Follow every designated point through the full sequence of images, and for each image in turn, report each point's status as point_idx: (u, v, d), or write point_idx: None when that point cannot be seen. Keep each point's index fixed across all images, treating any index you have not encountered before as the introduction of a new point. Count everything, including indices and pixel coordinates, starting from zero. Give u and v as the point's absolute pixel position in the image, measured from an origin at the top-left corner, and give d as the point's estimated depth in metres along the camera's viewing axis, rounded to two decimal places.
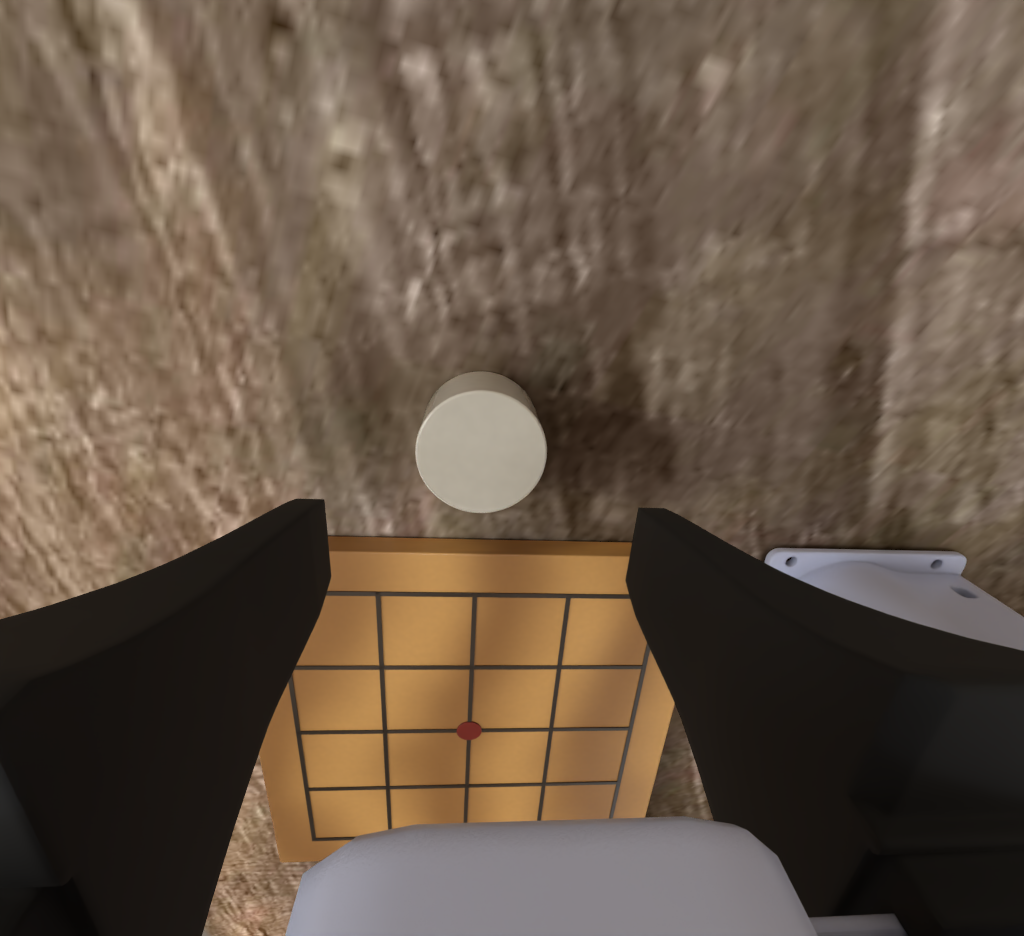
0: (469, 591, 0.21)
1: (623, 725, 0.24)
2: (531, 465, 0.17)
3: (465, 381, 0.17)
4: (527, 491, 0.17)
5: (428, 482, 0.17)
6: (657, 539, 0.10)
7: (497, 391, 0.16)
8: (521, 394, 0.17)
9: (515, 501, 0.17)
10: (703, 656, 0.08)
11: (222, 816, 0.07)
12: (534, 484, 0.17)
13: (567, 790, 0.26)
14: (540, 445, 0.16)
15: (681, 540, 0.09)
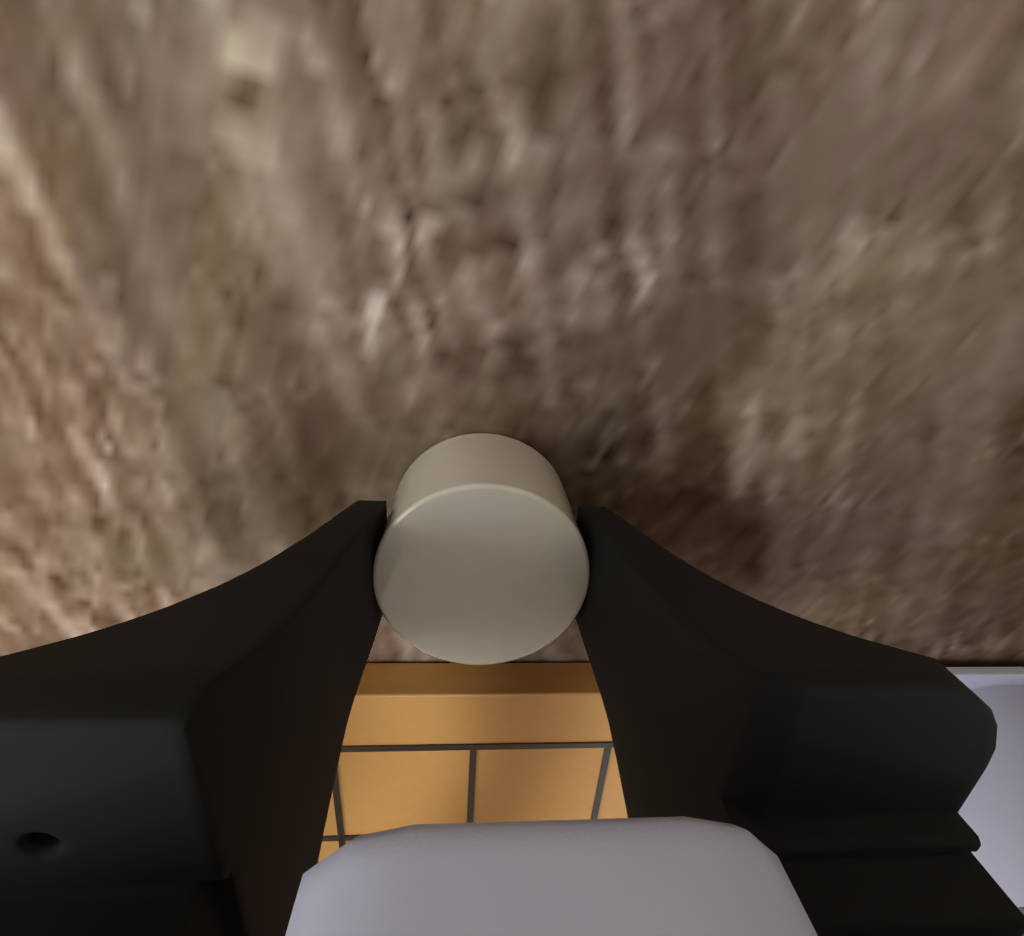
0: (466, 742, 0.14)
1: None
2: (564, 596, 0.10)
3: (456, 456, 0.10)
4: (556, 633, 0.11)
5: (395, 624, 0.10)
6: (590, 537, 0.10)
7: (509, 483, 0.09)
8: (546, 476, 0.11)
9: (536, 647, 0.11)
10: (623, 656, 0.08)
11: (318, 813, 0.07)
12: (568, 623, 0.10)
13: None
14: (579, 566, 0.10)
15: (608, 538, 0.09)
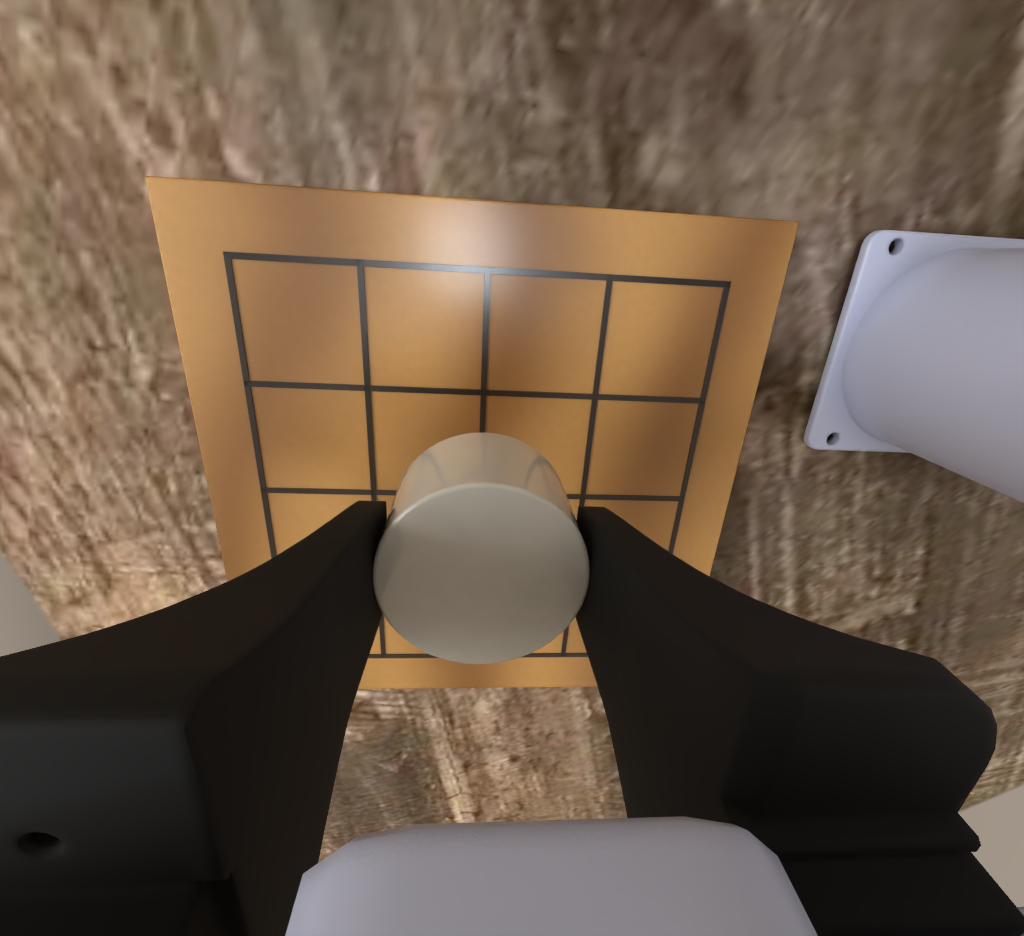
0: (481, 265, 0.16)
1: (673, 495, 0.19)
2: (564, 595, 0.10)
3: (456, 456, 0.10)
4: (556, 632, 0.11)
5: (395, 623, 0.10)
6: (590, 537, 0.10)
7: (509, 483, 0.09)
8: (546, 475, 0.11)
9: (536, 647, 0.11)
10: (623, 656, 0.08)
11: (319, 813, 0.07)
12: (568, 622, 0.10)
13: None
14: (579, 566, 0.10)
15: (607, 538, 0.09)
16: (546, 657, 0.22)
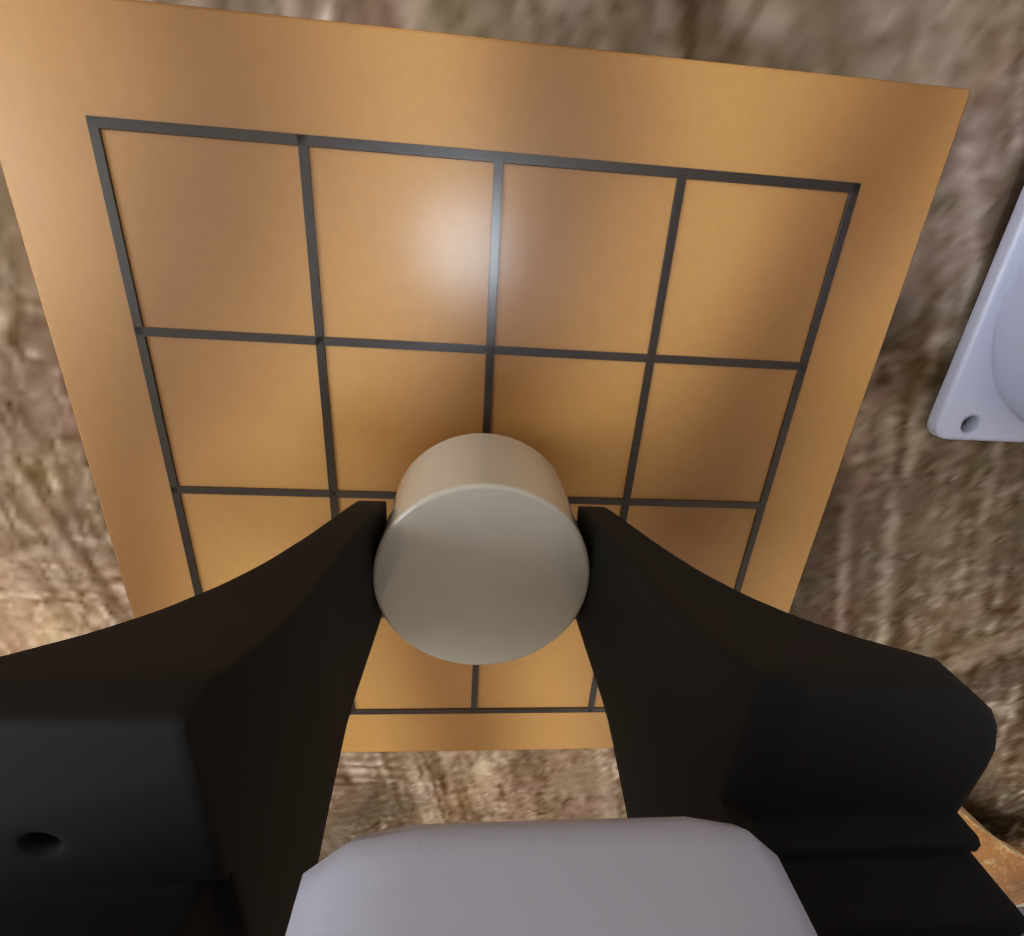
0: (489, 149, 0.10)
1: (750, 500, 0.14)
2: (564, 596, 0.10)
3: (456, 456, 0.10)
4: (556, 633, 0.11)
5: (395, 624, 0.10)
6: (590, 538, 0.10)
7: (509, 483, 0.09)
8: (546, 476, 0.11)
9: (536, 648, 0.11)
10: (623, 656, 0.08)
11: (319, 813, 0.07)
12: (568, 623, 0.10)
13: None
14: (579, 566, 0.10)
15: (607, 538, 0.09)
16: (568, 712, 0.17)
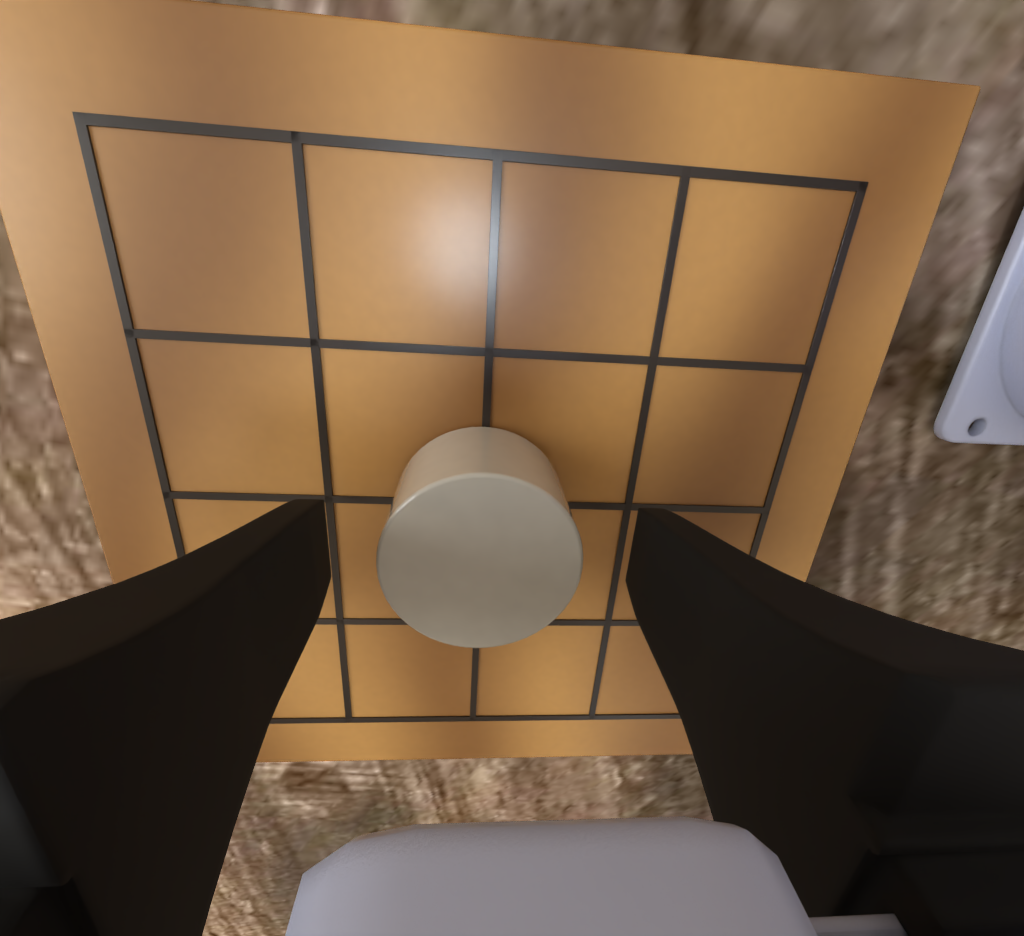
0: (488, 146, 0.10)
1: (754, 504, 0.14)
2: (558, 581, 0.11)
3: (456, 448, 0.11)
4: (551, 617, 0.11)
5: (398, 608, 0.11)
6: (657, 539, 0.10)
7: (506, 473, 0.10)
8: (542, 467, 0.11)
9: (533, 631, 0.11)
10: (703, 656, 0.08)
11: (222, 816, 0.07)
12: (562, 607, 0.11)
13: None
14: (573, 553, 0.10)
15: (681, 540, 0.09)
16: (569, 719, 0.17)
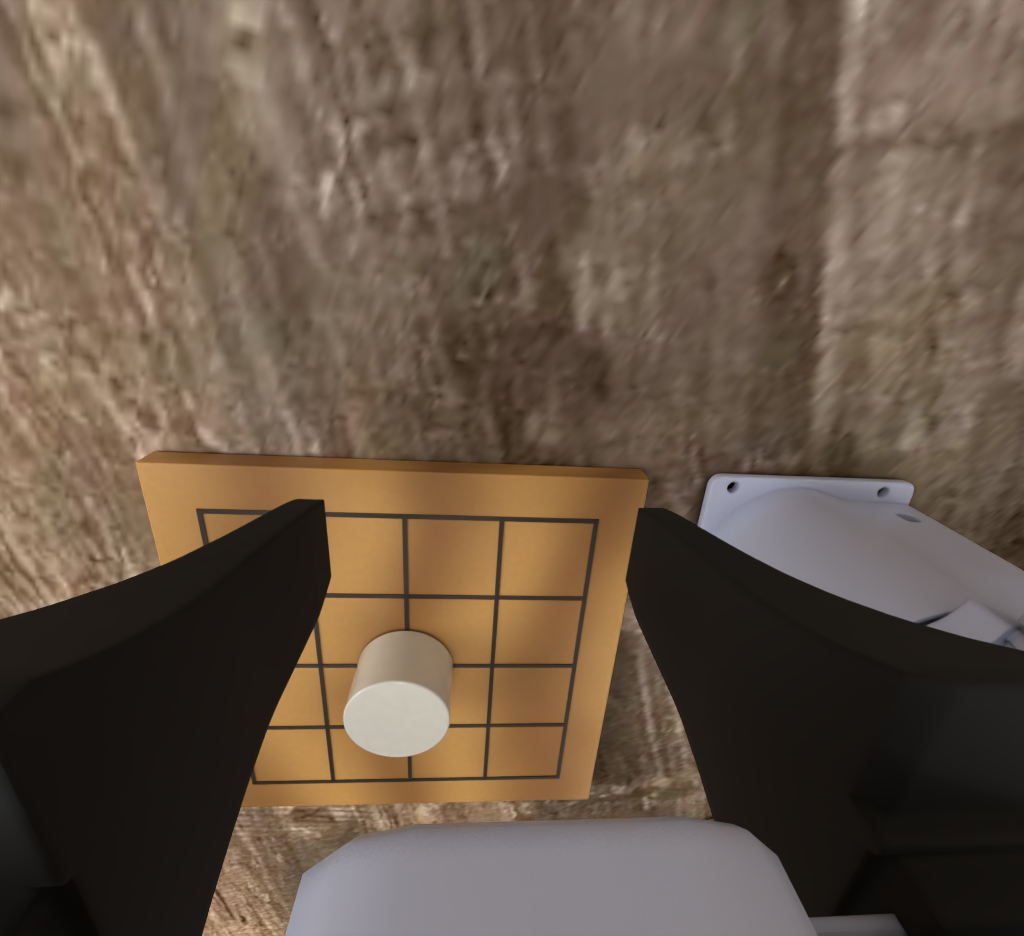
0: (399, 513, 0.20)
1: (567, 662, 0.24)
2: (437, 726, 0.21)
3: (386, 654, 0.21)
4: (436, 742, 0.21)
5: (355, 739, 0.21)
6: (656, 539, 0.10)
7: (406, 679, 0.20)
8: (432, 662, 0.21)
9: (426, 749, 0.21)
10: (703, 656, 0.08)
11: (222, 816, 0.07)
12: (441, 737, 0.21)
13: (513, 733, 0.25)
14: (443, 713, 0.20)
15: (681, 540, 0.09)
16: (470, 780, 0.27)
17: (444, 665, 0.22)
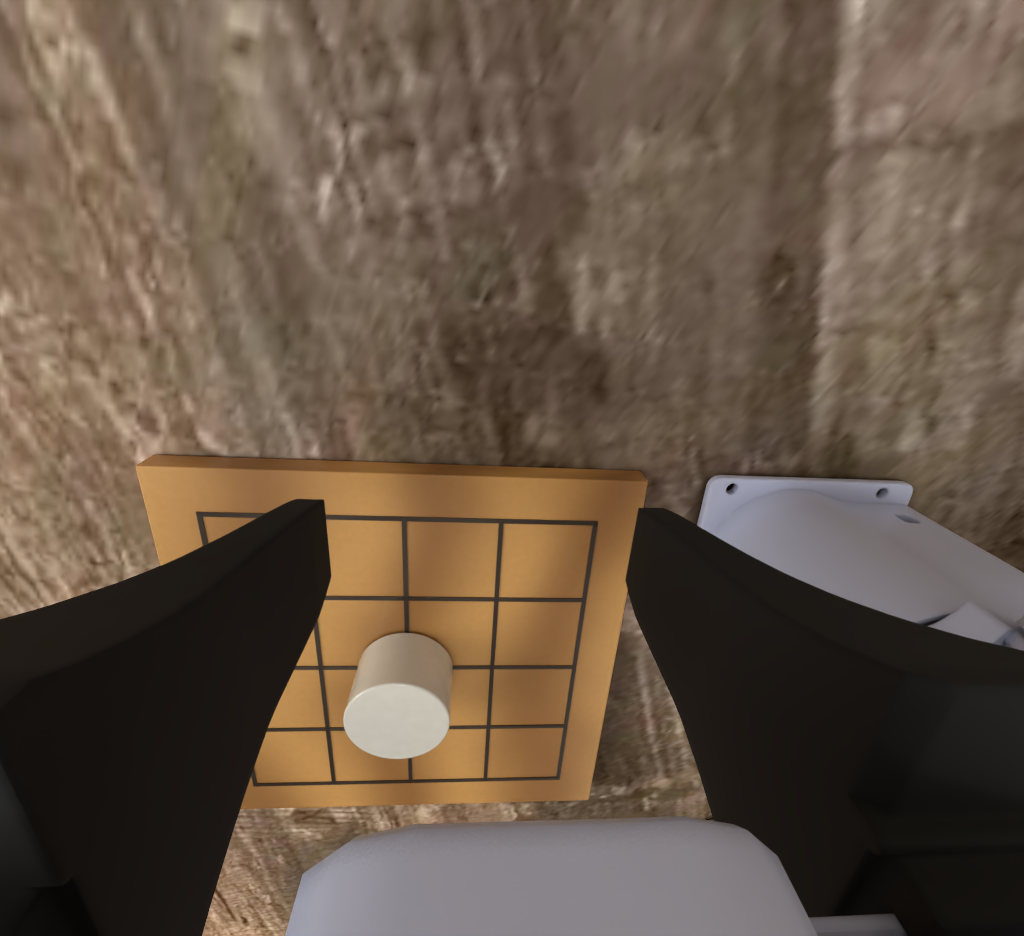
0: (398, 515, 0.20)
1: (567, 664, 0.24)
2: (437, 728, 0.21)
3: (386, 656, 0.21)
4: (436, 744, 0.21)
5: (355, 741, 0.21)
6: (657, 539, 0.10)
7: (406, 681, 0.20)
8: (431, 664, 0.21)
9: (427, 750, 0.21)
10: (703, 656, 0.08)
11: (222, 816, 0.07)
12: (441, 739, 0.21)
13: (513, 734, 0.26)
14: (443, 715, 0.20)
15: (681, 540, 0.09)
16: (471, 781, 0.27)
17: (444, 667, 0.22)
